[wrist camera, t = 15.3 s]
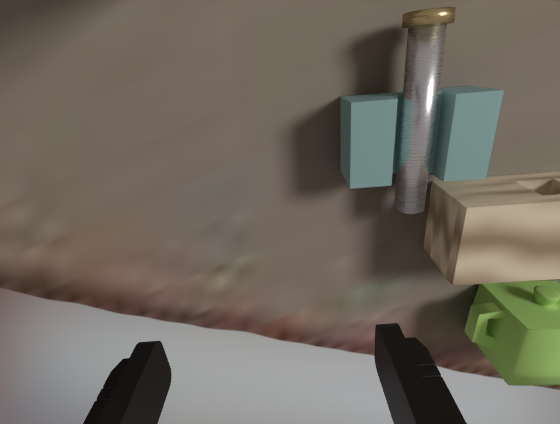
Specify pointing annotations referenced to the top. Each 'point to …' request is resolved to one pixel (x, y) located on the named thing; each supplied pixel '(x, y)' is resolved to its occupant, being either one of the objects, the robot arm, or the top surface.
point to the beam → (495, 228)
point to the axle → (419, 104)
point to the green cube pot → (518, 330)
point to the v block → (446, 139)
